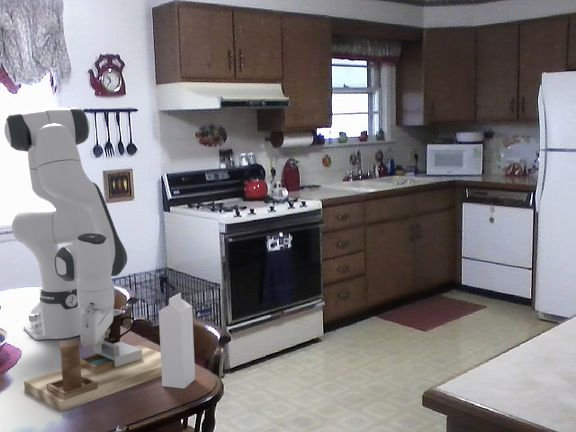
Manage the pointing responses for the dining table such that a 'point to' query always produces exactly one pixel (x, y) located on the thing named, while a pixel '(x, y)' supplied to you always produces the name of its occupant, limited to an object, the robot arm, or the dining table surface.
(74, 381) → the block
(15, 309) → the dining table surface
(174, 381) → the milk
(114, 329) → the coffee mug
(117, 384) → the board
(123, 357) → the cover
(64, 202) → the robot arm
